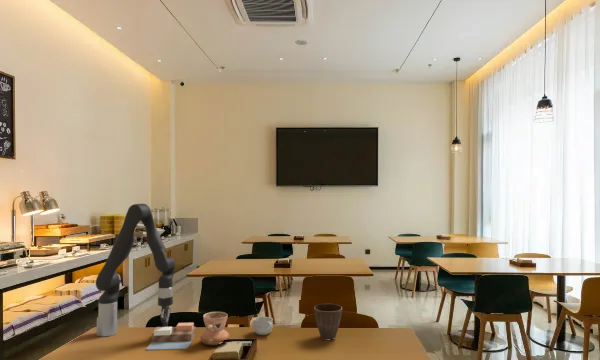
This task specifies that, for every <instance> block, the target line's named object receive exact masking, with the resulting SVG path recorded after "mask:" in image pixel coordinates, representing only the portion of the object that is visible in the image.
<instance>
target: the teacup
mask: <svg viewBox="0 0 600 360" xmlns="http://www.w3.org/2000/svg"><path fill="white" fill-rule="evenodd" d="M252 320H253V321H252V322H253V323H252V325H253V327H252V328H253V329H252V330H253V332H254V333H255V334H256V335H259V336H267V335H268V334H270V333H271V332H272V330H273V323H274V322H273V321H274V319H273V317H268V316H257V317H254V318H252Z"/></svg>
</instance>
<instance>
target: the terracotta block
mask: <svg viewBox="0 0 600 360" xmlns="http://www.w3.org/2000/svg"><path fill="white" fill-rule="evenodd" d="M175 327H176V331H185V330H192V329H193V328H194V327H195V323H194V322H178V323H177V325H176V326H175Z"/></svg>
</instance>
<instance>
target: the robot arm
mask: <svg viewBox="0 0 600 360" xmlns="http://www.w3.org/2000/svg"><path fill="white" fill-rule="evenodd" d="M139 222H141V223H142V224H143V227H144V228H145V233H146V242H147V245H148V247H149V249H150V251H151V253H152V255H153V261H154V265H155V268H156V269H157V270H158V271H159V272H160V273H161V275H160V276H159V278H158V290H157V305H158V307H159V306H160V307H161V309H160V314H159V318H160V322H161V323H162V327H169V326H168V325H169V319H170V314H171V307H170V306H171V305H173V304H174V289H173V284H174V282H173V279H174V278H173V277H174V274H175V269H176V261H175V259H174V258H173V257H172V256H166V254H165V253H166V251H167V249H166V246H165V244H164V242H163V239H162V238H161V235H160V234H159V231H158V228H157V226H156V222H155V220H154V215H153V212H152V210H151V208H150V206H149V205H148V204H146V203H135V204H131V205H130V206H129V207H128V210H127V212H126V214H125V217H124V220H123V223H122V226H121V228H120V231H119V233H118V235H117V238H116V239H115V241H114V244H113V246H112V248H111V251H110V253H109V255H108V257H107V259H106V261H105V262H104V265H103V266H102V268H101V270H100V271H99V273H98V275H97V276H96V279H95V287H96V289H97V290H98V291H101V292H103V293H102V294H101V295H100V296H99V297H98V314H97V315H98V316H97V318H96V336H97V337H111V336H114V335H116V334H117V332H118V331H117V330H118V299H119V296H120V286H121V285H120V284H121V279H120V275H119V273H118V272H116V271H117V269H118V268H119V267H120V266H121V265H122V264H123V262H124V261H126V259H127V258H129V255H130V253H131V251H132V249H133V246H134V244H135V230H136V228H137V226H138V224H139Z"/></svg>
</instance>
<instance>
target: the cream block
mask: <svg viewBox="0 0 600 360" xmlns="http://www.w3.org/2000/svg"><path fill="white" fill-rule="evenodd" d="M172 327H173V326H168V327H163V326H156V327H155V328H154V330H153V333H154V336H158V335H170V334H171V332H172Z"/></svg>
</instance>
